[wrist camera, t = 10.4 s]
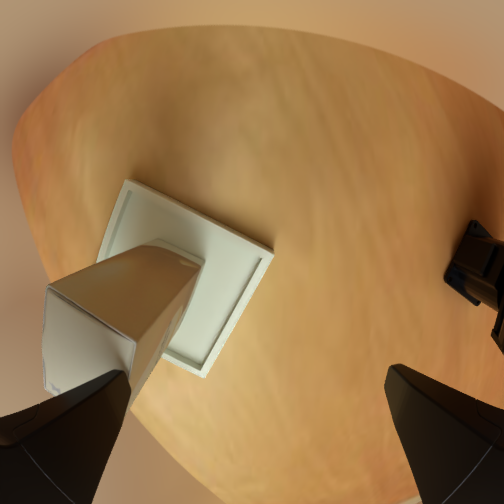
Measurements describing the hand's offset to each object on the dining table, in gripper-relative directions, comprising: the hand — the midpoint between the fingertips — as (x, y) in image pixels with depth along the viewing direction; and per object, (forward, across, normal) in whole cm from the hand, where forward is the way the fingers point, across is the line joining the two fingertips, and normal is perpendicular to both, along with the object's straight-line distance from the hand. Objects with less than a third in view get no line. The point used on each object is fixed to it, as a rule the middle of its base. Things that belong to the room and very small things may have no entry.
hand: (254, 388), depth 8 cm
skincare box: (+12, +7, 0) cm, 14 cm away
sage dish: (+13, +7, 0) cm, 15 cm away
